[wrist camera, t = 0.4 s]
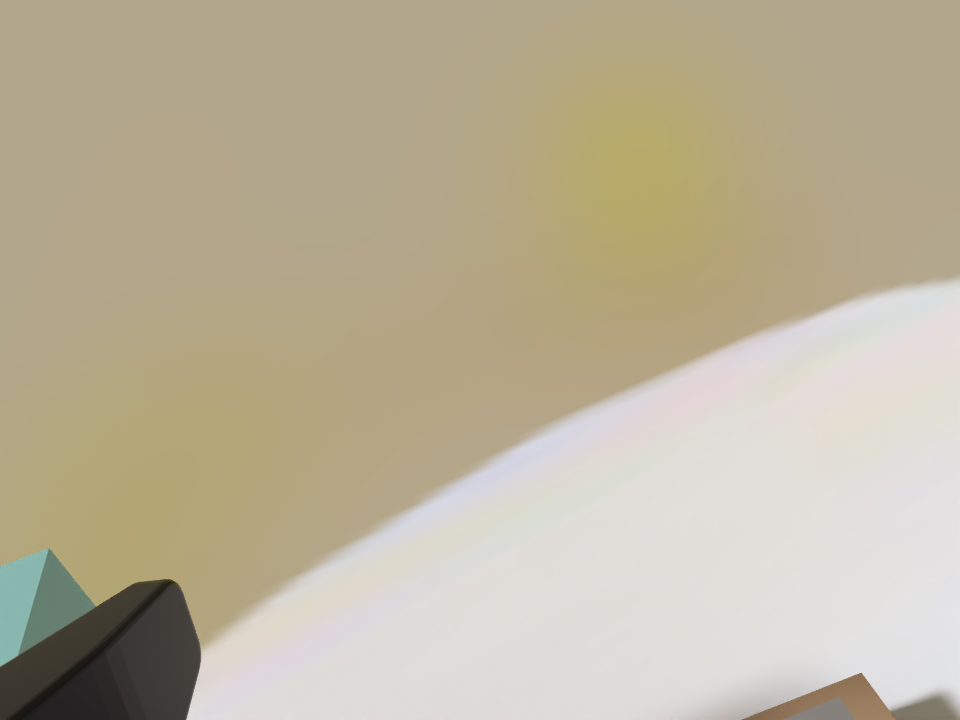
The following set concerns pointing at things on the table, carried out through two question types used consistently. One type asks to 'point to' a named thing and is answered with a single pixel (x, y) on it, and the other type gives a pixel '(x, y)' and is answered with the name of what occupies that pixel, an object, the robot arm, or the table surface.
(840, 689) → the walnut slab
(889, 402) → the table surface
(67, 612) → the teal pillar
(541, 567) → the table surface
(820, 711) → the charcoal tile
